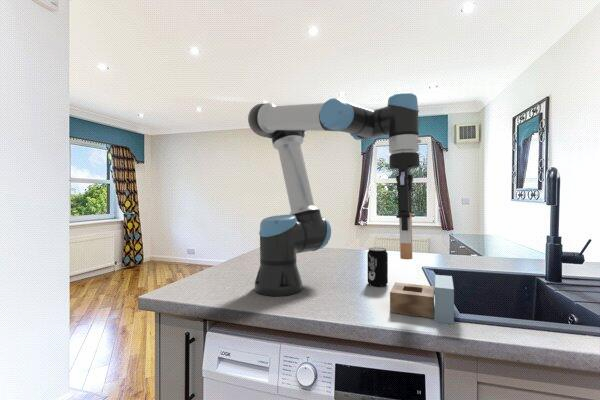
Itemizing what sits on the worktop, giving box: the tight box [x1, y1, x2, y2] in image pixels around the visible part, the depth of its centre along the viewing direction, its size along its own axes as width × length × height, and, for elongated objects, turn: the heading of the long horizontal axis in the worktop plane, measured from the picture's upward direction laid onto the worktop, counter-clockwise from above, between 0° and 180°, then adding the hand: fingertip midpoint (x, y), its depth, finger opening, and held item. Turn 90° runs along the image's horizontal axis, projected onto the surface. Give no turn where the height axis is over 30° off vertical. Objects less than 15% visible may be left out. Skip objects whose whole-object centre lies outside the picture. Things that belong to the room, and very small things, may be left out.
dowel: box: [399, 213, 413, 260], centre depth 82 cm, size 3×3×12 cm
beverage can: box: [367, 247, 389, 288], centre depth 104 cm, size 7×7×12 cm
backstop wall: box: [434, 274, 455, 325], centre depth 77 cm, size 4×13×8 cm, turn 156°
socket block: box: [389, 282, 435, 319], centre depth 81 cm, size 10×10×5 cm
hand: (406, 242), depth 82 cm, fingers closed on dowel, 3 cm apart
